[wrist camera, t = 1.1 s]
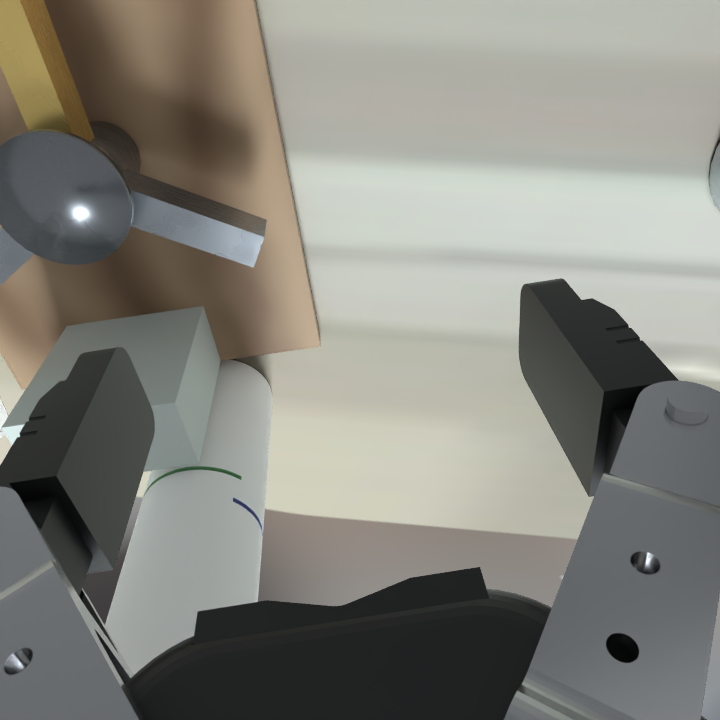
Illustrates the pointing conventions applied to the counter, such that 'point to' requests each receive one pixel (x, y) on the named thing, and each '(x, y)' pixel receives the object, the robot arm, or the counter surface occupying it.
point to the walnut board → (172, 179)
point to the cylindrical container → (198, 526)
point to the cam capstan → (87, 169)
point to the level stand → (145, 376)
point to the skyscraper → (2, 418)
